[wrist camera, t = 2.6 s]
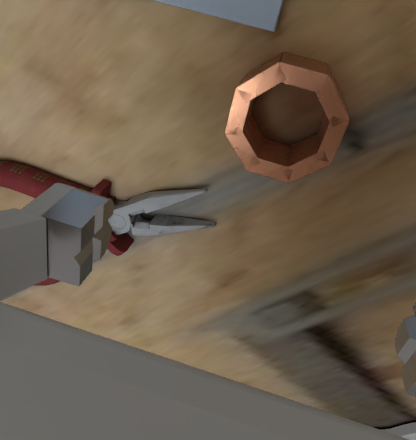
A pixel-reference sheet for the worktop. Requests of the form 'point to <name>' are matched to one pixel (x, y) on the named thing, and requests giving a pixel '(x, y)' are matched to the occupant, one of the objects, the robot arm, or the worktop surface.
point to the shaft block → (237, 10)
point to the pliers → (123, 210)
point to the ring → (275, 151)
